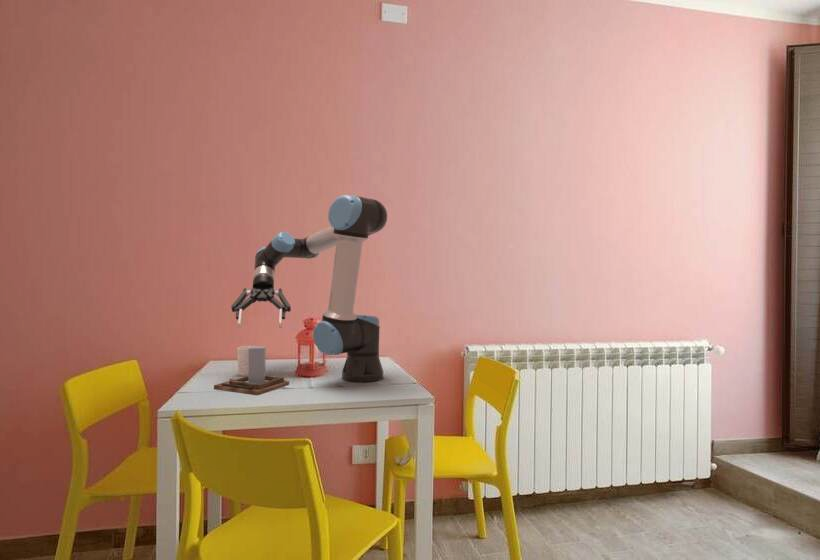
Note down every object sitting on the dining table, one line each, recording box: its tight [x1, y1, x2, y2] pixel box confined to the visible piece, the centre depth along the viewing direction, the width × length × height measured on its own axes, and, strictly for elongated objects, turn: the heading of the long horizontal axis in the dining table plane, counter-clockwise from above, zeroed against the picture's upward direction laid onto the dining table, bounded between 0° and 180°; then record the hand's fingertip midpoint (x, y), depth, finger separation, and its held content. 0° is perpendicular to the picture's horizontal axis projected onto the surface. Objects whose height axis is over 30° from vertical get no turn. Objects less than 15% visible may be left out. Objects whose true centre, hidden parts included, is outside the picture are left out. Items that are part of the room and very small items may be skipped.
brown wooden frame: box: [213, 374, 290, 396], centre depth 169 cm, size 18×16×3 cm
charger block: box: [248, 345, 267, 384], centre depth 168 cm, size 5×5×12 cm
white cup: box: [236, 345, 251, 377], centre depth 189 cm, size 8×8×10 cm
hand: (260, 325), depth 175 cm, fingers open, 13 cm apart
